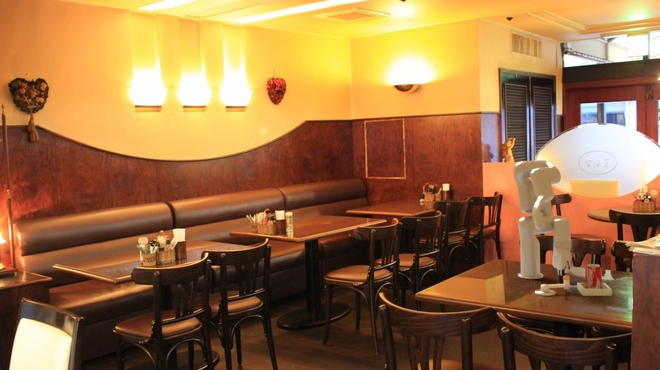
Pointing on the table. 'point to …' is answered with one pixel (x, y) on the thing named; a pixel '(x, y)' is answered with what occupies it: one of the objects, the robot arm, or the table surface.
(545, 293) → the crank base
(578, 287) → the tray
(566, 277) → the crank
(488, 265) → the table surface
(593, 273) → the soda can
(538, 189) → the robot arm
